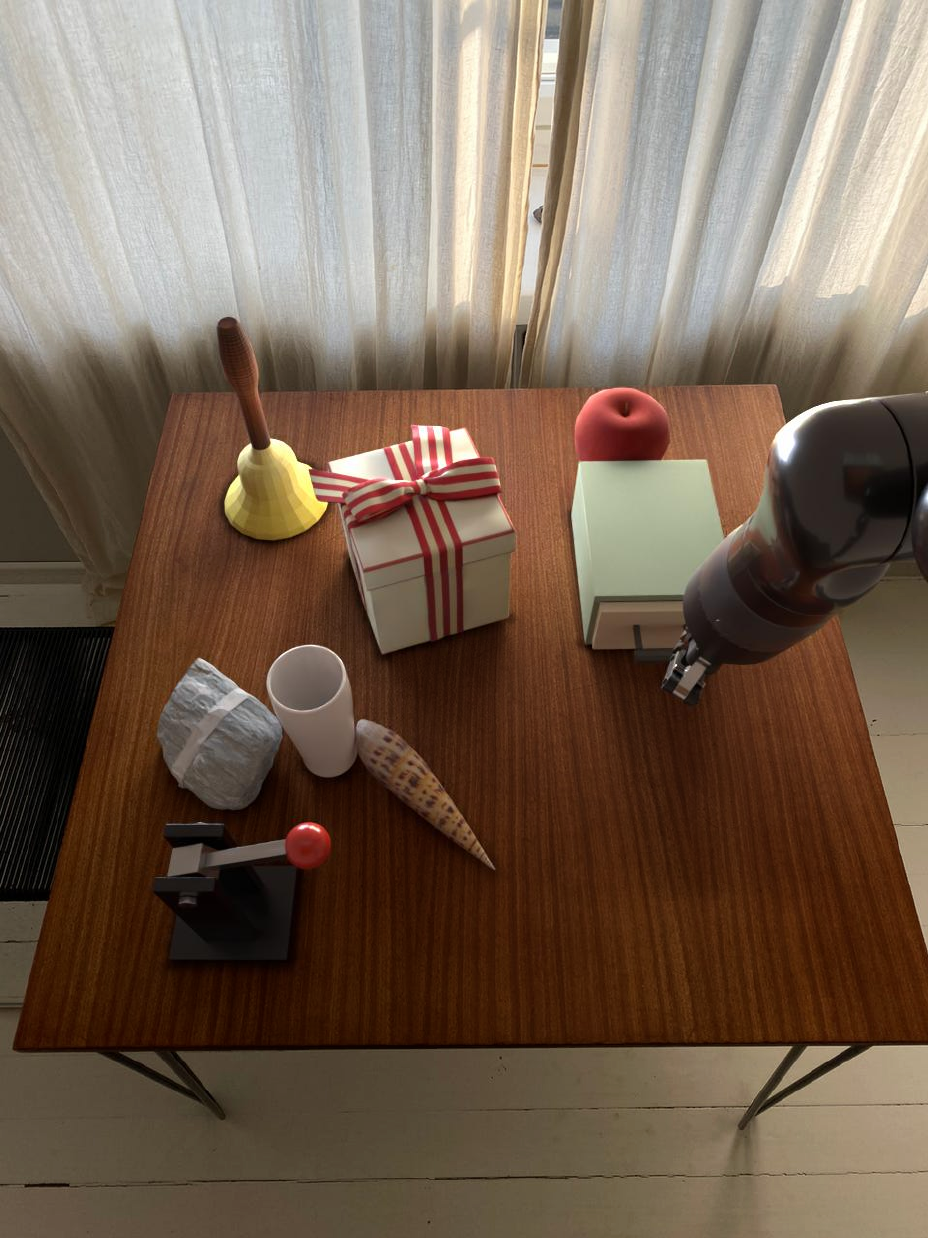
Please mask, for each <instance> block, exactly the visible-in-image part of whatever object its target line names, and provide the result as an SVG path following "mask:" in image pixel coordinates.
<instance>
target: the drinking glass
mask: <svg viewBox="0 0 928 1238" xmlns="http://www.w3.org/2000/svg"><path fill="white" fill-rule="evenodd" d="M266 690H267V694H268V697H269V700H270V703H271V706H272V709H273V711H274V715H276V716H275V717H276V718H277V719H278V721H279V723H280V724H281V727H282V729H283V730H284V731H285V733H286V735H287V736H288V737H289V739H290V740H291V742H292V744H293V745H294V747H295V749H296V750H297V752H298V753H299V755H300V757H301V759H302V761H303V764H304V766H305V767H306V768H307V769H308V771H310V773H312V774H314V775H315V776H318V777H321V778H334V777H338V776H340V775H343V774H344V773H346V772H347V771H349V770H350V769H351V767H353V765H354V763H355V761H356V759H357V756H358V750H357V746H356V726H355V713H354V699H353V692H352V687H351V683H350V679H349V675H348V673H347V670H346V667H345V664H344V662H343V661H342V659H341V658H340V657H339V656H338V655H337V653H335V652H334V651H333V650H331V649H329V648H328V647H325V646H322V645H317V644H316V645H315V644H305V645H304V644H303V645H299V646H296V647H293V648H291V649H289V650H287V651H285V652H283V653H282V654H281V655H280V656H278V658H277V659H276V660H274V662H273V663H272V665H271V666H270V668H269V670H268V673H267V677H266Z"/></svg>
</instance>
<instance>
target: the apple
mask: <svg viewBox="0 0 928 1238" xmlns="http://www.w3.org/2000/svg"><path fill="white" fill-rule="evenodd" d="M669 420H670V419H669V415H668V413H667V412H666V410H665V409H664V407H663V406H662V404H660V403H659V402H658V401H657V400H656V399H655V398H653V397H652V396H651V395H649V394H647V393H645V392H643V391H640V390H638V389H636V388H630V387H614V388H608V389H607V388H606V389H602V390H599V391H598V392H596V393H594V394H592V395H590V396H589V397H588V399H587V400H586V402H585V404H584V405H583V406H582V408H581V410H580V412H579V414H578V415H577V417H576V419H575V425H574V449H575V452H576V454H577V457H578V459H579V462H593V461H658V460H663V458H664V457H665V453H666V452H667V450H668V447H669V446H670V444H671V426H670V421H669Z"/></svg>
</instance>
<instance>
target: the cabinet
mask: <svg viewBox="0 0 928 1238" xmlns="http://www.w3.org/2000/svg"><path fill="white" fill-rule="evenodd" d="M576 472H577V473H576V479H575V487H574V493H573V501H572V508H571V513H570V514H571V515H570V516H571V525H572V534H573V544H574V554H575V562H576V563H575V564H576V573H577V581H578V591H579V600H580V609H581V610H580V611H581V620H582V629H583V631H582V632H583V641H584V645H592V636H593V632H594V627H595V622H596V618H597V613H598V608H599V604H600V602H603V601H659V600H683V597H684V592H685V589H686V586H687V584H688V582H689V580H690V578H691V577H692V575H693V574H694V573H695V571H696V570H697V569H698V568H699V567H700V566H701V565H702V564H703V562H704V561H705V560H706V559H707V558H708V557H709V556H710V554H711V553H712V552H713V551H714V550H715V549H716V548H717V547H718V545H719V544H720V543H721V542H722V541H723V540H724V539H725V535H724V531H723V527H722V521H721V517H720V513H719V508H718V504H717V500H716V496H715V491H714V486H713V481H712V478H711V474H710V469H709V464H708V460H707V459H670V460H669V459H667V460H663V459H661V460H658V461H593V462H581V461H578V466H577V471H576Z"/></svg>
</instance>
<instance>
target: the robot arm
mask: <svg viewBox="0 0 928 1238" xmlns="http://www.w3.org/2000/svg"><path fill="white" fill-rule="evenodd" d="M767 453H768V454H767V456H766V462H765V469H764V476H763V477H764V478H763V484H762V489H761V492H760V497H759V501H758V505H757V508H756V510H755V511H753V512H752V513H751V515H750V516H749V517H748V518H747V519H746V521H744V523H742V524H740V525H739V526H738V527H736V528H735V529H733V531H731V532H730V533H729V534H728V535H726V537H724V540H723V541H722V542H721V543H720V544H719V545H718V547H717V548H716V549H715V550H714V551H713V552H712V553H711V554H710V556H709V557H708V558H707V559H706V560H705V561H704V562H703V564H702V565H701V566H700V567H699V568H698V569H697V570H696V571H695V573H694V574H693V575H692V577H691V578H690V580H689V582H688V584H687V586H686V589H685V592H684V597H683V614H684V619H685V622H686V625H687V627H686V629H685V631H684V632H683V634H682V636H681V637H680V640H679V641H678V643H677V644H676V646H675V648H672V649H673V651H672V653H673V655H672V657H671V658H670V660H671V662H670V663H668V666H667V670H666V673H665V675H664V679H663V680H662V682H661V684H662V685H661V687H660V689H661V690H662V691H665V692H666V693H667V694H669V695H670V696H672V697H674V699H677V700H678V701H680V702H682V703H683V704H685V705H686V706H688V707H689V708H693V707H694V706H695V705H698V703H699V702H700V700H701V695H702V691H703V688H705V686H706V682H705V678H706V676H711V675H714V674H716V673H717V672H718V671H719V670H720V668H721V667H723V665H735V666H753V665H758V664H762V663H765V662H767V661H770V660H772V659H774V658H775V657H777V656H779V655H781V654H782V653H783V652H785V651H787V650H789V649H790V648H792V647H795V646H796V645H797V644H799V643H800V642H803V641H804V640H806V639H807V638H809V637H811V636H812V635H814V634H816V633H817V632H818V631H820V630H821V629H822V628H823V627H824V626H825V625H826V624H828V623H829V621H830V620H831V619H832V618H834V617H836V616H837V615H838V614H840V613H841V612H844V611H845V610H847V609H849V608H850V607H853V606H854V605H856V603H857V602H859V601H860V600H861V599H863V598H864V597H866V596H867V595H868V594H870V593H871V592H872V591H873V590H874V589H875V588H876V587H877V586H878V584H879V583H880V582H881V581H882V580H883V579H884V577H885V575H886V574H887V572H888V570H889V569H890V566H891V565H892V564H898V563H909V562H915V564H916V567H917V569H918V570H919V573H920V574H921V576H922V578H923V580H924V581H925V582H926V583H927V584H928V391H925V392H915V393H906V394H895V395H885V396H875V397H873V396H872V397H866V398H865V397H864V398H855V399H845V400H837V401H831V402H827V403H823V404H820V405H818V406H814V407H812V408H810V409H808V410H806V411H804V412H802V413H801V414H799V415H797V416H796V417H794V418H793V419H791V420H790V421H789V422H787V423H786V424H785V425H784V426H783V427H781V428H780V430H779V431H778V432H777V433H776V435H775V436H774V438H773V439H772V442H771V443H770V446H769V449H768V452H767Z"/></svg>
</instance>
